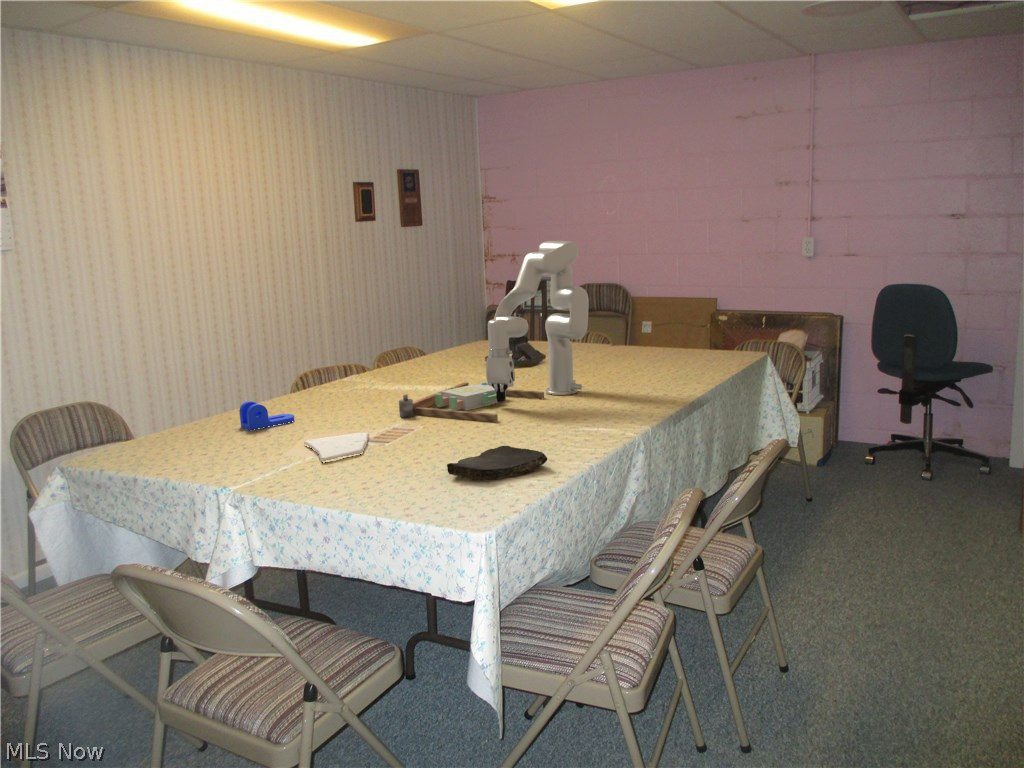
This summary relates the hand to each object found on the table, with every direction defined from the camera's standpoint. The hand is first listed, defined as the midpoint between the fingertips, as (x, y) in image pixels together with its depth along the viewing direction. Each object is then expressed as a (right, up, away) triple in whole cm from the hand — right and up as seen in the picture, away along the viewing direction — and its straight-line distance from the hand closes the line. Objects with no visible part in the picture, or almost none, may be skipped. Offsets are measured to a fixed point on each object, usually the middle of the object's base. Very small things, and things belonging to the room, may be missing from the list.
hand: (501, 401), depth 307 cm
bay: (-11, -2, +3) cm, 11 cm away
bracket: (-83, -8, -11) cm, 84 cm away
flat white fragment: (-49, -15, -47) cm, 69 cm away
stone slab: (0, -19, -75) cm, 78 cm away
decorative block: (-12, -2, +9) cm, 15 cm away
